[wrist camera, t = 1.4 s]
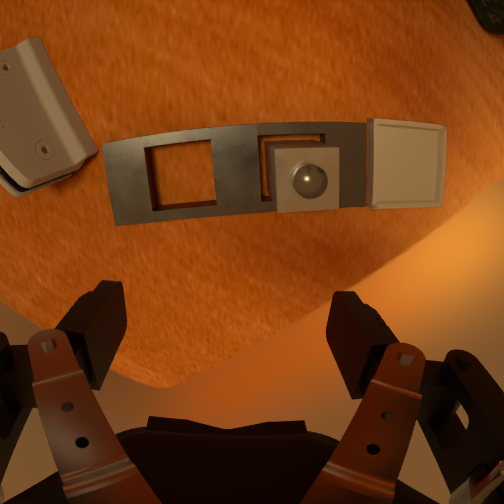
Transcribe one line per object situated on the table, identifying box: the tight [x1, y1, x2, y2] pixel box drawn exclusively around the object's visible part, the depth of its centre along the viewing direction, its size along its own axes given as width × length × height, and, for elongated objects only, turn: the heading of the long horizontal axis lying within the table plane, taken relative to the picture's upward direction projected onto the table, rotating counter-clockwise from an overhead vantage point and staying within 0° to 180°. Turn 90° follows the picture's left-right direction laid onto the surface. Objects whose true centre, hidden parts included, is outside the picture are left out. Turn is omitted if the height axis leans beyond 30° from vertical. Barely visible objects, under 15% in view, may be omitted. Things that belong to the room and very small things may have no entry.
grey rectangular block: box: [264, 139, 339, 213], centre depth 25 cm, size 5×5×9 cm
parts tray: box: [366, 118, 447, 209], centre depth 29 cm, size 9×9×2 cm
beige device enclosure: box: [0, 37, 99, 197], centre depth 21 cm, size 17×5×10 cm, turn 28°
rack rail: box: [102, 122, 367, 226], centre depth 28 cm, size 8×24×2 cm, turn 93°
